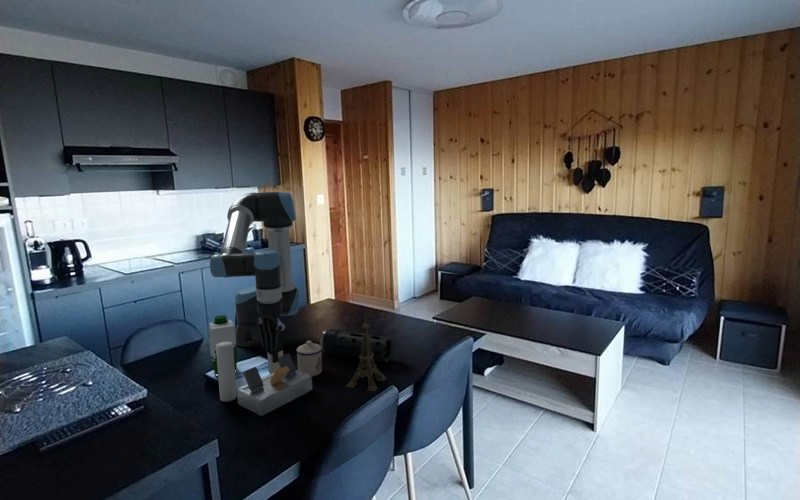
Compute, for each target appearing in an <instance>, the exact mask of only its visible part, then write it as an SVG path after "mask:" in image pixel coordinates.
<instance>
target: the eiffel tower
mask: <svg viewBox="0 0 800 500" xmlns="http://www.w3.org/2000/svg"><path fill="white" fill-rule="evenodd" d="M364 321H365V322H364V323H363V324H362V325H361V326H362V327H361V328H362V329H363V332H362V334H363V342H362V350H361V355H359V358H360V359H359V358H358V359H359V362H358V363H359V364H358V366H357V368H356V371H355V372H354V374H353V376H352V377H351V379H350V381H349V383H347V384H346V385H345V387H348V388H351V389H352V388H353V389H354V387H356V386H357V385H358V382H357V381H358V380H359V378H363V379H364V378H365V377H367V379H368V381H367V382H368V383H367V385H368V387H367V389H366V391H369V392H374V393H375V392H376V391H377V390H378V388H379V387H378V386H377V384H376V382H375V381H374V379H373V374H374V376H375V377H376V381H380V382H385V381H386V380H387V379H388V377H387V376H385V375H384V374H383V373H382V371H381V370H380V369H378V367H377V364H376V362H375V361H374V360H373V356H374V354H373V353H372V352H371V346H370V339H369V335H370V333H369V328H370V327H371V326H370V324H369V323H367V316H366V312H365V318H364Z"/></svg>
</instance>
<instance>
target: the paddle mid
mask: <svg viewBox="0 0 800 500" xmlns="http://www.w3.org/2000/svg"><path fill="white" fill-rule="evenodd" d="M289 370H290V369H289V368H288V366H285V367H283V368H281V369H278V370H276V372H275V374H274V375H273V377H272V379H271V381H270V384H271V385H273V384H275V383H277V382H279V381H281V380H283V379H284V378H285V376H286V375H287V373H288V372H289Z"/></svg>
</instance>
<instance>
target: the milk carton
mask: <svg viewBox="0 0 800 500" xmlns="http://www.w3.org/2000/svg"><path fill="white" fill-rule="evenodd" d="M227 318H228V317H227V315H218V316H217V315H216V316H215V317H214V321H213V322H209V324H208V325H209V326H208V337H209V349H210V360H211V364H212V368H213V371H214V374H218V366H217V354H216V345H217V344H219V343H221V342H232V343H233V351H234V365H235V370H236V369H237V368H238V367H237V366H238V350H237V348H238V346H237V345H236V335H235V333H236V332H235V331H236V327H235V324H234V322H233V320H232V319H227ZM236 371H237V370H236Z"/></svg>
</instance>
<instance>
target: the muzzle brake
mask: <svg viewBox="0 0 800 500" xmlns="http://www.w3.org/2000/svg"><path fill="white" fill-rule="evenodd" d="M369 339H370V346H371V352H372V353H373V354H374V356H373V360H374V362H375V363H382V364H388V362H389V361H390V359H391V357H392V355H393V349H394V342H393V339H392V338H391V337H387V336H379V335H373V334H369ZM362 342H363V333H358V332H352V331H346V330H345V331H344V330H343V331H342V330H341V329H338V328H337V329H336V328H329V329H325V330H323V331H322V332H321V334H320V337H319V345H320V346H321V347H322V351H324V352H325V353H327V354H334V355H336V354H337V356H339V357H344V358H346V357H348V356H349V357H354V358H358V359H359V360H360V358H359V355H361V350H362Z"/></svg>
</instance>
